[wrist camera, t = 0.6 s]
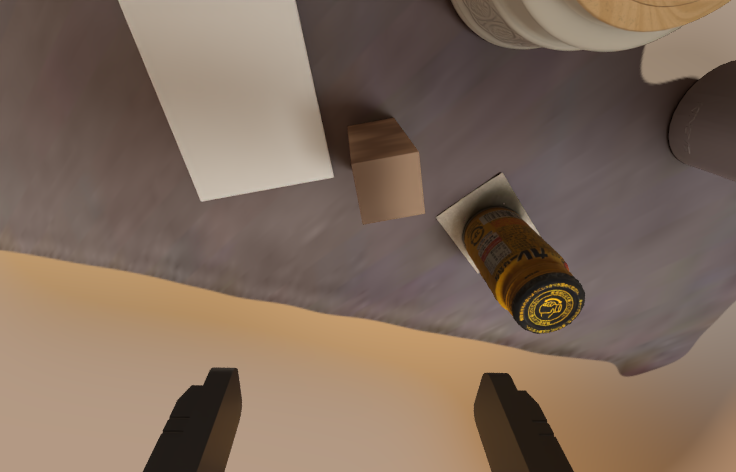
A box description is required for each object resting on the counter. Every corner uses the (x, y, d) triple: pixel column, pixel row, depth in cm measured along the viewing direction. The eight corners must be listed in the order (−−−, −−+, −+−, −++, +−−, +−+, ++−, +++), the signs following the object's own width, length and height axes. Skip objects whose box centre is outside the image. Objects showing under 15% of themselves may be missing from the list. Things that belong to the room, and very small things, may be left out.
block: (393, 117, 31) (418, 151, 21) (399, 163, 33) (425, 213, 23) (347, 126, 31) (351, 164, 21) (355, 171, 33) (362, 224, 23)
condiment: (477, 272, 39) (528, 357, 29) (435, 216, 36) (476, 289, 25) (538, 234, 38) (617, 309, 27) (501, 171, 34) (574, 229, 23)
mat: (286, -43, 26) (285, -45, 25) (333, 175, 33) (333, 177, 32) (117, -11, 26) (113, -12, 25) (203, 199, 33) (201, 201, 33)
